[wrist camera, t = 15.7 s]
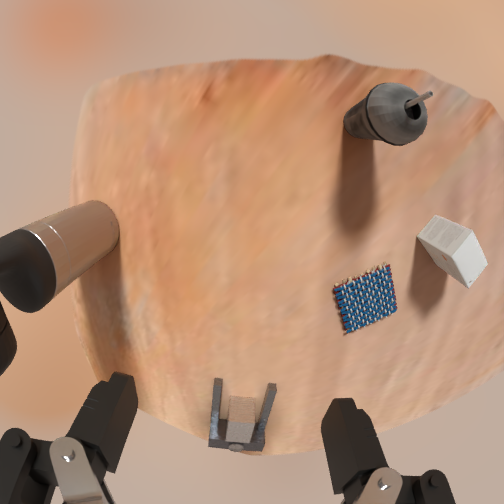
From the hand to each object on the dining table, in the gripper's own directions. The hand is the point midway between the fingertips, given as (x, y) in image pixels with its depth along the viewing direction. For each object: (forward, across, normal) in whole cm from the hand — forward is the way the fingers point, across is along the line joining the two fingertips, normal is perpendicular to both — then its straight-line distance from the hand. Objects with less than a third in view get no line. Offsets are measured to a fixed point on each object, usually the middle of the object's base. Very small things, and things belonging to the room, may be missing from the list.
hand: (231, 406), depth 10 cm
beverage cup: (+32, -14, -17) cm, 39 cm away
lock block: (+32, -4, +40) cm, 51 cm away
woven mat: (+33, -22, +10) cm, 41 cm away
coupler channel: (+32, -4, +40) cm, 51 cm away
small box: (+32, -33, -2) cm, 46 cm away
